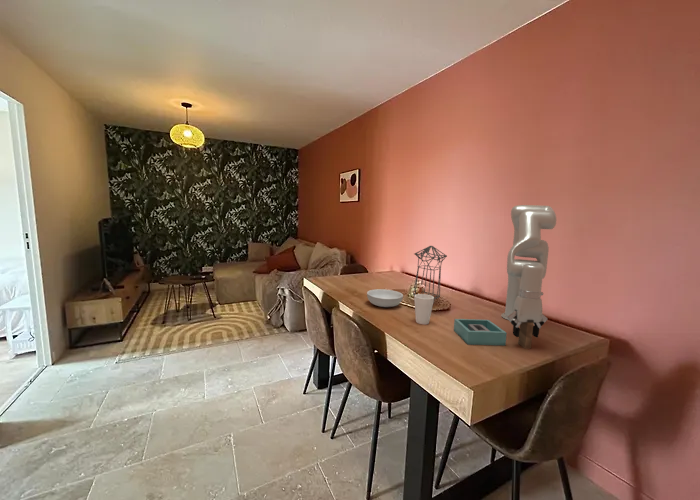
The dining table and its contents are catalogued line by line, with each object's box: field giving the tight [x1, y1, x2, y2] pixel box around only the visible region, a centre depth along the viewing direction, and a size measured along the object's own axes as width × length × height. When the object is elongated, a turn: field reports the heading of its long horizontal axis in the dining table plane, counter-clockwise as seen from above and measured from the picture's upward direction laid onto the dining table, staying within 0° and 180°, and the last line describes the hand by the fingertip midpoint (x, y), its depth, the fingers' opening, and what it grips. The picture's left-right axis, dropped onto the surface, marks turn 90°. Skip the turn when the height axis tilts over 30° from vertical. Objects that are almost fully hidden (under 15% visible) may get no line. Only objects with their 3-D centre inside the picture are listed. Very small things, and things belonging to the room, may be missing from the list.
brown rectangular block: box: [517, 320, 534, 350], centre depth 130 cm, size 2×5×12 cm, turn 2°
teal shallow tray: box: [453, 318, 508, 346], centre depth 138 cm, size 16×16×6 cm
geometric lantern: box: [412, 245, 448, 301], centre depth 189 cm, size 16×16×35 cm
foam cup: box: [413, 293, 435, 325], centre depth 155 cm, size 10×9×13 cm
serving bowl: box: [366, 288, 404, 308], centre depth 182 cm, size 21×21×7 cm
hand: (525, 335), depth 130 cm, fingers open, 7 cm apart
